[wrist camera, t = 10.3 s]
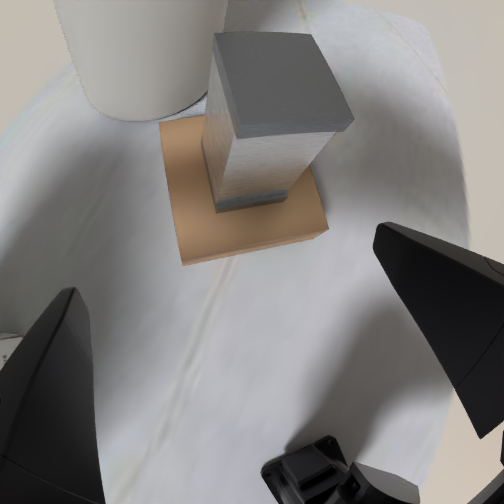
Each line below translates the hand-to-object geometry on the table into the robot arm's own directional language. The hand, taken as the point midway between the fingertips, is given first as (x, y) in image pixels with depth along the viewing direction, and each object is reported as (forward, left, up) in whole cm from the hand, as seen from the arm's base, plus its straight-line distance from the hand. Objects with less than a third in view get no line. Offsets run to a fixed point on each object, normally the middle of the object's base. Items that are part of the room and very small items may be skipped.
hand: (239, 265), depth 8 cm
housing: (+7, -5, -11) cm, 13 cm away
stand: (+7, -5, -14) cm, 16 cm away
